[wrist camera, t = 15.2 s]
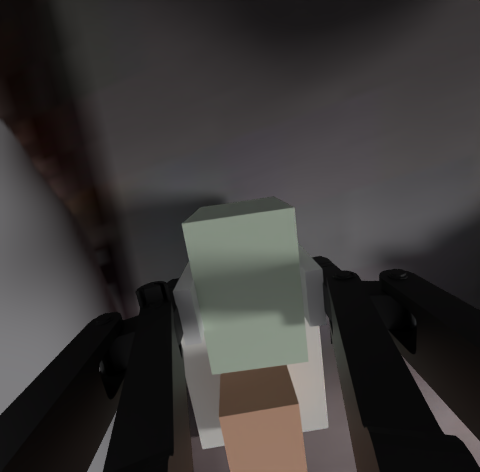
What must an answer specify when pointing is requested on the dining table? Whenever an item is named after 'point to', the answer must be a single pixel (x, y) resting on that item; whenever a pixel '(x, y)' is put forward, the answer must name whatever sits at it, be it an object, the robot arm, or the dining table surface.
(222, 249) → the sage brick
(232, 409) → the terracotta brick
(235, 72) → the dining table surface
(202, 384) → the base plate
